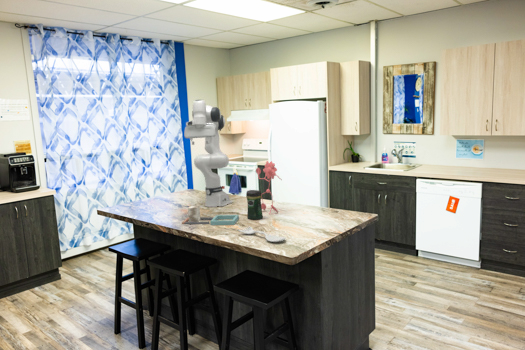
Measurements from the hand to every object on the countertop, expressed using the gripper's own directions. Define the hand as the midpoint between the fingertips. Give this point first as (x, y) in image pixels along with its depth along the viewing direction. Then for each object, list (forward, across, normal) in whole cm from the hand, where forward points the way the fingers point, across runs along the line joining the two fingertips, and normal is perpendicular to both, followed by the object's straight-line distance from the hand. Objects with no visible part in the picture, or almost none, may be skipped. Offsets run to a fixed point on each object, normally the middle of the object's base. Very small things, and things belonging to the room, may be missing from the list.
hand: (200, 144), depth 266 cm
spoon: (+62, -38, +34) cm, 80 cm away
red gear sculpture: (+45, -45, -22) cm, 67 cm away
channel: (+50, +3, -5) cm, 50 cm away
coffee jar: (+50, -33, -7) cm, 60 cm away
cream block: (+50, +6, -5) cm, 51 cm away
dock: (+51, -14, -2) cm, 53 cm away
